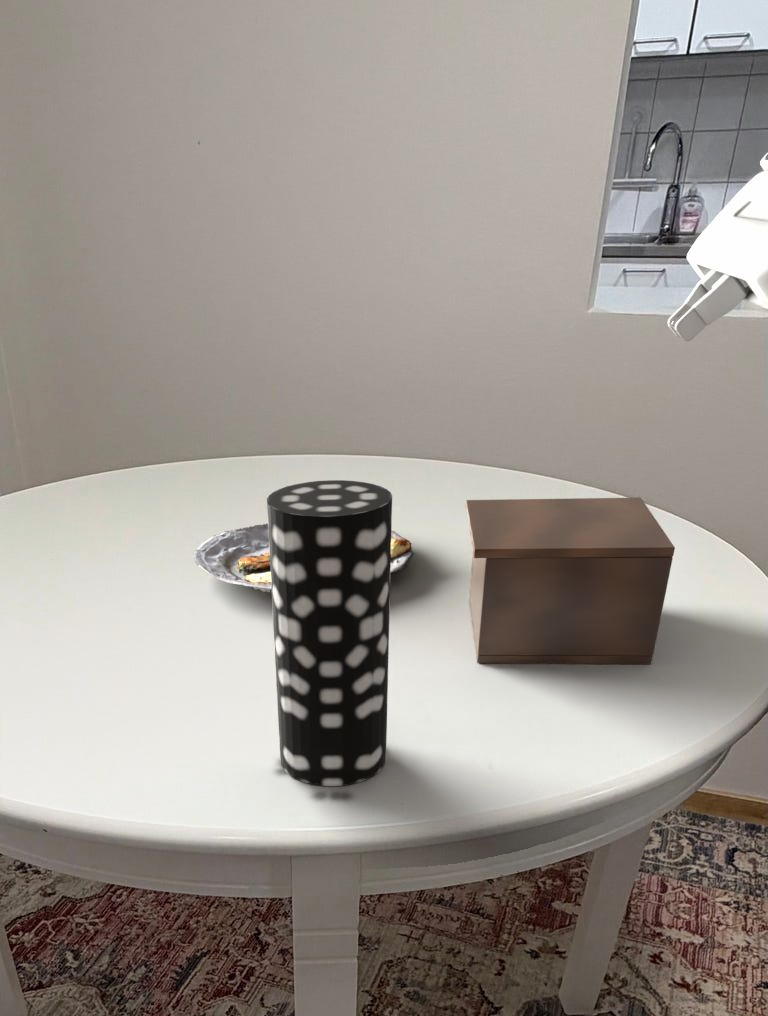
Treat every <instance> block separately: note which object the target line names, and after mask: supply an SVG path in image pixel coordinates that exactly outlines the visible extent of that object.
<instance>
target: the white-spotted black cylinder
mask: <svg viewBox="0 0 768 1016" xmlns="http://www.w3.org/2000/svg"><path fill="white" fill-rule="evenodd" d="M266 507H267V508H266V510H267V511H266V512H267V524H268V531H269V550H270V569H271V588H272V590H271V606H272V624H273V641H274V643H273V645H274V646H273V647H274V663H275V680H276V681H275V682H276V683H275V684H276V701H277V703H276V704H277V720H278V739H279V758H280V759H279V760H280V765H281V768H282V769H283V771H285V772H286V774H287V775H289V776H290V777H292V778H293V779H296V780H297V781H300V782H302V783H307V784H309V785H314V786H322V787H326V786H327V787H339V786H348V785H354V784H357V783H361V782H364V781H366V780H368V779H370V778H372V777H374V776H375V775H377V774H378V773H379V772H380V771H381V770H382V769H383V768H384V767H385V764H386V762H387V739H388V738H387V734H388V693H389V692H388V691H389V654H390V653H389V651H390V650H389V649H390V648H389V647H390V646H389V645H390V613H391V612H390V609H391V608H390V607H391V573H390V570H391V530H392V526H393V525H392V524H393V523H392V522H393V494H392V492H391V491H390V490H388V489H387V488H385V487H383V486H380V485H377V484H375V483H371V482H365V481H359V480H346V479H345V480H341V479H336V480H335V479H333V480H331V479H328V480H315V481H306V482H301V483H295V484H291V485H287V486H285V487H282V488H279V489H276V490H275V491H273V492H271V493H270V494H269V495H268V496H267V498H266Z"/></svg>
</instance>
